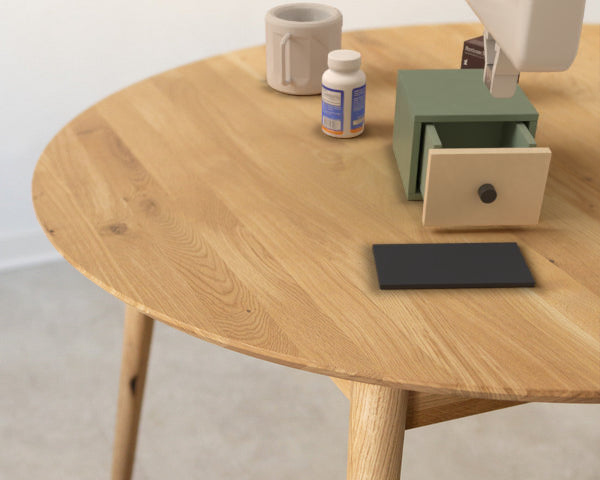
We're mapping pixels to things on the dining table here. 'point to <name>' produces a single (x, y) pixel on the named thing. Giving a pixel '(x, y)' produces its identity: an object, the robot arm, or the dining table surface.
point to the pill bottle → (343, 95)
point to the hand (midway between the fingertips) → (497, 91)
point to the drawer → (481, 174)
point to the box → (474, 54)
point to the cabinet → (446, 111)
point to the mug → (300, 45)
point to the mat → (451, 265)
